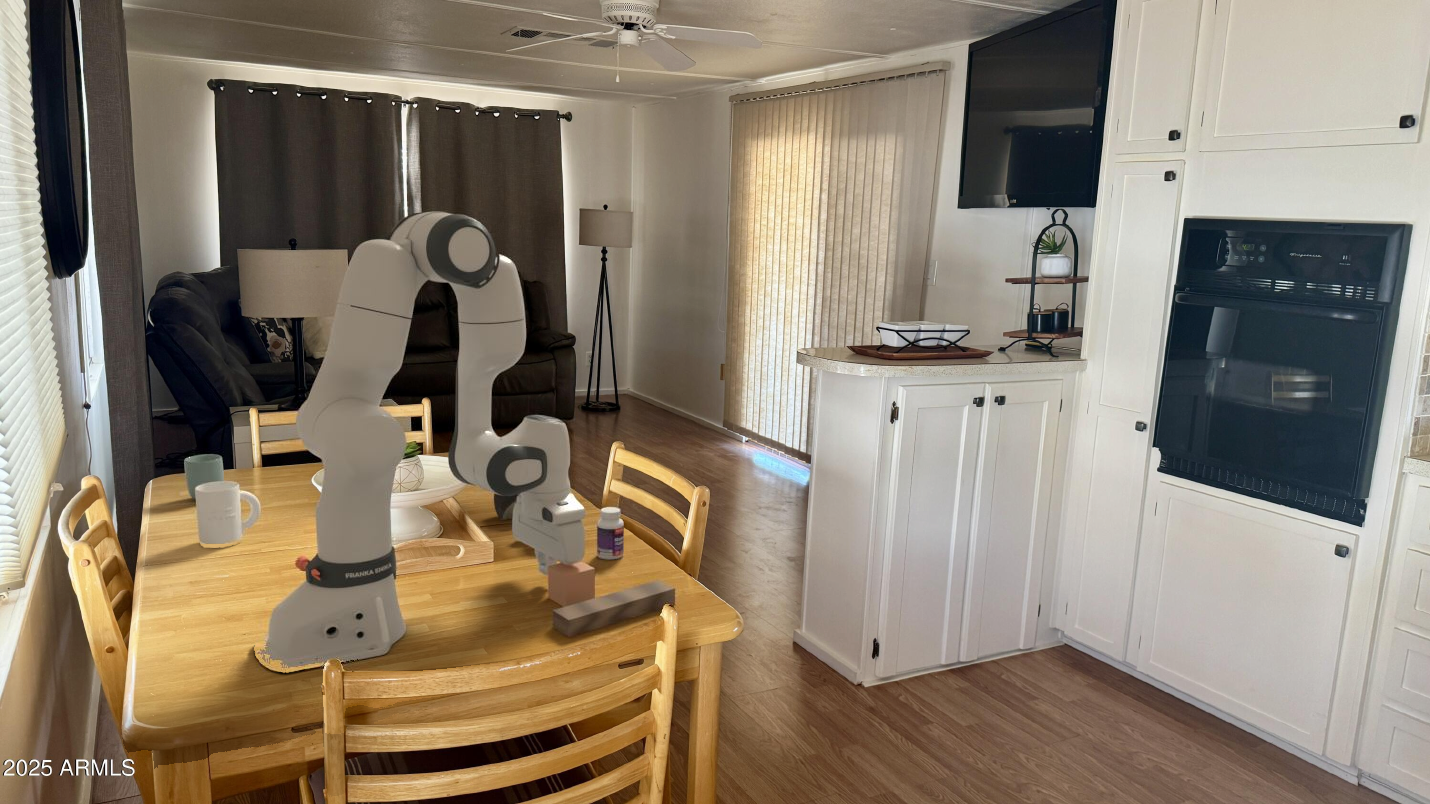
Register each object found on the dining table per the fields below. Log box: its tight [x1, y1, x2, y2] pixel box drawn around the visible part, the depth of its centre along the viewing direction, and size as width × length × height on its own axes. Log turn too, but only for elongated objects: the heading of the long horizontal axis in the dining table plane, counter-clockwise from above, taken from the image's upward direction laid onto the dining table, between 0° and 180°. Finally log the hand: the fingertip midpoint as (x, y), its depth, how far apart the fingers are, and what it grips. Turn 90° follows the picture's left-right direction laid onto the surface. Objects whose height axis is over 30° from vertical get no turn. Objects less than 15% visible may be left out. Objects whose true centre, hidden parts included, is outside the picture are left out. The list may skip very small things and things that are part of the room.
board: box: [552, 579, 676, 638], centre depth 160 cm, size 22×5×3 cm, turn 131°
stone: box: [493, 493, 520, 521], centre depth 212 cm, size 8×8×10 cm
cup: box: [183, 453, 225, 500], centre depth 221 cm, size 8×8×10 cm
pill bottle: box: [596, 506, 625, 561], centre depth 189 cm, size 5×5×10 cm
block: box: [547, 561, 596, 607], centre depth 167 cm, size 6×6×6 cm
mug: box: [195, 480, 261, 544], centre depth 193 cm, size 8×12×12 cm
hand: (546, 573), depth 173 cm, fingers closed
